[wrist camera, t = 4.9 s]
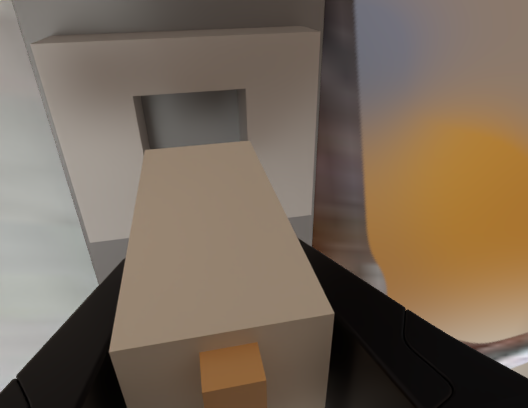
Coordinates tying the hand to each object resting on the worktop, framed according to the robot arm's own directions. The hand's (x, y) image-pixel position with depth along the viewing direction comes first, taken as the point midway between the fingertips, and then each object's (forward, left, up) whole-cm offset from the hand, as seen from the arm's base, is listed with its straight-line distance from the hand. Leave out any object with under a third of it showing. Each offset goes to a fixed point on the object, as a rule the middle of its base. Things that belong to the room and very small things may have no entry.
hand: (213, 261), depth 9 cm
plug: (0, 0, -4) cm, 4 cm away
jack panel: (-6, 0, -13) cm, 14 cm away
